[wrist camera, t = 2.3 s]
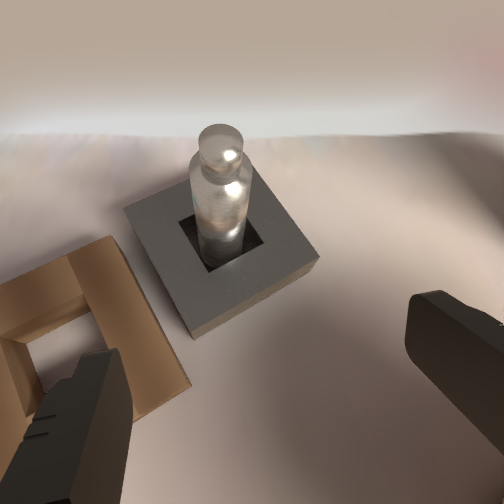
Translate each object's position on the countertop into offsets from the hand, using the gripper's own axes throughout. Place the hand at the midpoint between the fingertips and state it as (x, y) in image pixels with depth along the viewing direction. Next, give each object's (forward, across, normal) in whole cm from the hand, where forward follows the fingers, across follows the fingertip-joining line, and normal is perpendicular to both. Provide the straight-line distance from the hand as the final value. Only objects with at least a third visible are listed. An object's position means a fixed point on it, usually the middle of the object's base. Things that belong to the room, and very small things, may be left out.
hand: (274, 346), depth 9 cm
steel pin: (+17, 0, +4) cm, 17 cm away
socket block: (+17, 0, +4) cm, 17 cm away
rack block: (+13, +10, +8) cm, 18 cm away
